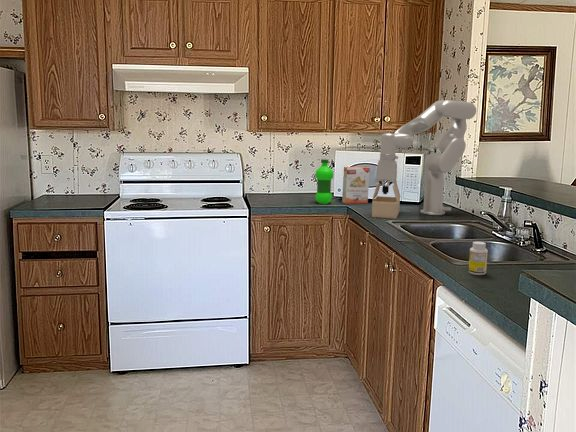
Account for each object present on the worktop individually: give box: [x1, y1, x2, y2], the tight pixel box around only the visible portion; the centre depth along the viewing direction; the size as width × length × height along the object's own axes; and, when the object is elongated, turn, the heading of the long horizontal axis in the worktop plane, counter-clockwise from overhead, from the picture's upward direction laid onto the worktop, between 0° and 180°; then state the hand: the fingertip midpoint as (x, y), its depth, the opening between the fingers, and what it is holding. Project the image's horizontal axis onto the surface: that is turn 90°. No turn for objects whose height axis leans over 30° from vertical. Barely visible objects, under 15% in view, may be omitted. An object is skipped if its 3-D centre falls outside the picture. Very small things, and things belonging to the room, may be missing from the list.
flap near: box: [392, 181, 401, 201], centre depth 297 cm, size 8×18×1 cm
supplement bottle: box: [468, 241, 489, 276], centre depth 191 cm, size 6×6×10 cm
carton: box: [371, 195, 401, 220], centre depth 300 cm, size 12×21×8 cm, turn 165°
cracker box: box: [341, 166, 371, 205], centre depth 336 cm, size 14×6×21 cm, turn 105°
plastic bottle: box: [314, 158, 334, 205], centre depth 333 cm, size 10×10×25 cm
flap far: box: [372, 182, 382, 201], centre depth 300 cm, size 8×18×1 cm
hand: (385, 193), depth 299 cm, fingers closed
